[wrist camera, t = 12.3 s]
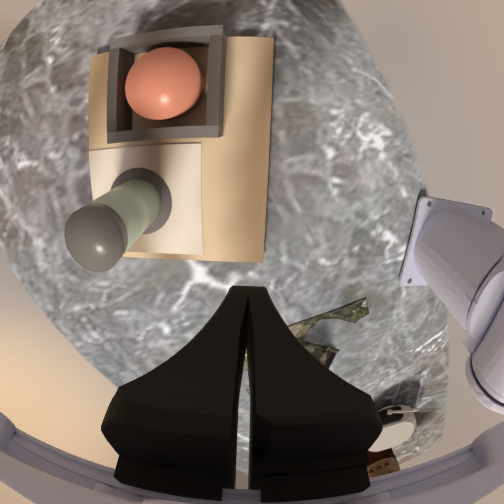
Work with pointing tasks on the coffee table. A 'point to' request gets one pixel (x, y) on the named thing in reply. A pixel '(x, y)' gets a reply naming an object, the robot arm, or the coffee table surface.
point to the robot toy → (395, 426)
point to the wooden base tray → (190, 145)
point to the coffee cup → (381, 463)
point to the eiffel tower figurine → (300, 329)
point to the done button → (164, 84)
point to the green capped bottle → (111, 224)
